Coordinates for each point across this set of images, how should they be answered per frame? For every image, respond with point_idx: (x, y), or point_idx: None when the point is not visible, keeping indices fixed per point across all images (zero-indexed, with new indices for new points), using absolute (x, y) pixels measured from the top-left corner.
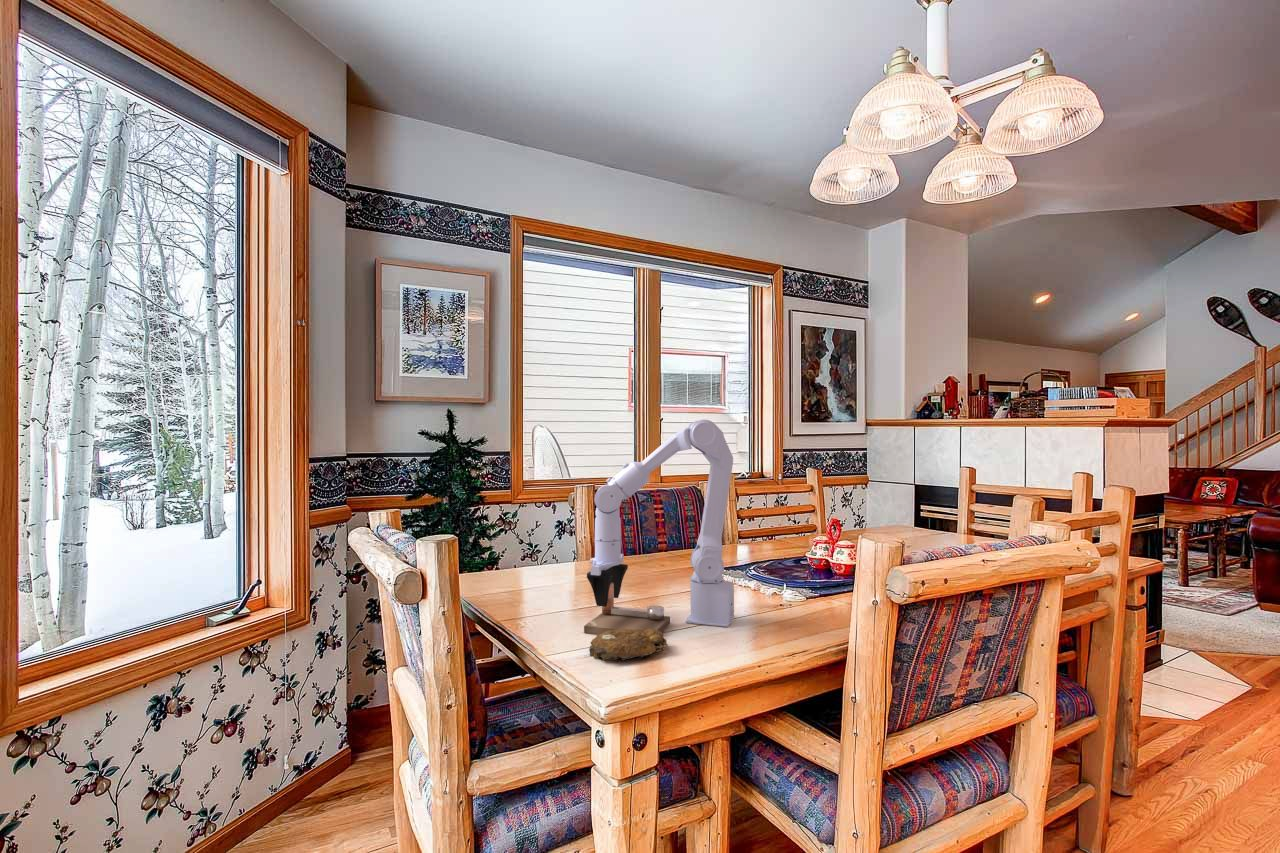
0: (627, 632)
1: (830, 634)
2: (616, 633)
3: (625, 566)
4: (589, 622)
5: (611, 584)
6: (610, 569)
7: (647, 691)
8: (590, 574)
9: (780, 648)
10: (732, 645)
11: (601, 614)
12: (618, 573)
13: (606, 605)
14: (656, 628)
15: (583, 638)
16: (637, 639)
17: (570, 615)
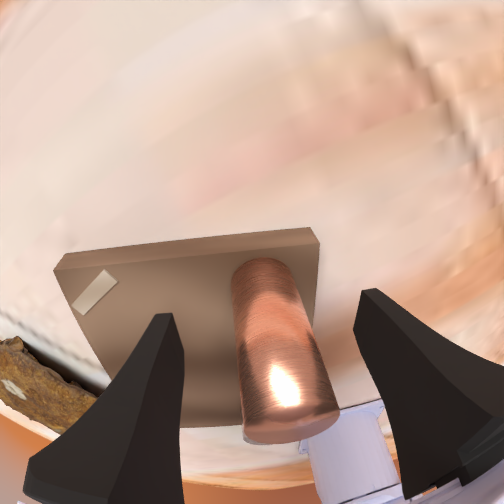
0: (57, 418)
1: (303, 483)
2: (36, 402)
3: (414, 496)
4: (97, 268)
5: (267, 440)
6: (446, 444)
7: (5, 415)
8: (38, 500)
9: (228, 481)
10: (209, 465)
11: (239, 258)
12: (410, 448)
13: (182, 353)
14: (182, 426)
15: (33, 277)
16: (52, 429)
17: (275, 43)
